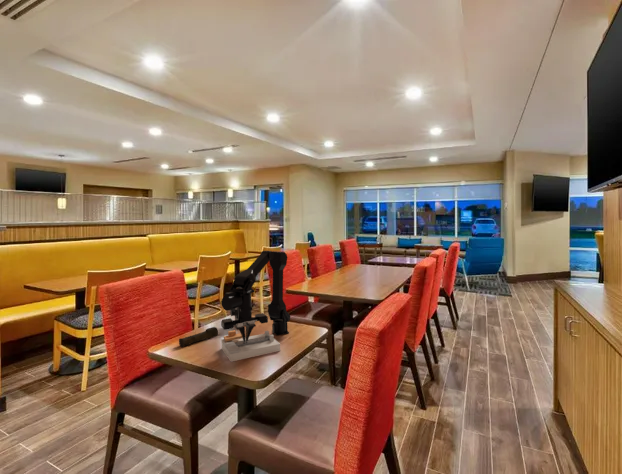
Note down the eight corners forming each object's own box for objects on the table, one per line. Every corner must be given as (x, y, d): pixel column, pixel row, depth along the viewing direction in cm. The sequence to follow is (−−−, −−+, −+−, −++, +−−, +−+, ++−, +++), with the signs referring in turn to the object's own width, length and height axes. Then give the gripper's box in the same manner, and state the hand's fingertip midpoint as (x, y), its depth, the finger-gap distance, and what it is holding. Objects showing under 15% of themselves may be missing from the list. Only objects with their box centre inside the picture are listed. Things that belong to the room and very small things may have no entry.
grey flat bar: (268, 337, 147) (268, 335, 146) (271, 339, 143) (271, 338, 143) (235, 343, 140) (235, 342, 139) (237, 346, 136) (237, 344, 136)
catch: (239, 335, 146) (239, 329, 146) (242, 338, 143) (242, 331, 142) (223, 338, 143) (223, 332, 143) (225, 341, 139) (225, 334, 139)
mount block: (267, 339, 152) (267, 327, 152) (280, 350, 139) (279, 337, 139) (221, 348, 143) (221, 335, 142) (230, 361, 129) (230, 347, 129)
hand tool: (182, 348, 144) (182, 338, 144) (178, 346, 147) (178, 336, 147) (221, 336, 158) (220, 327, 157) (216, 334, 161) (216, 325, 160)
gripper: (259, 297, 150) (260, 331, 151) (217, 303, 141) (218, 339, 142) (268, 303, 140) (268, 339, 141) (223, 309, 132) (225, 347, 133)
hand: (245, 341), depth 140 cm, fingers closed
